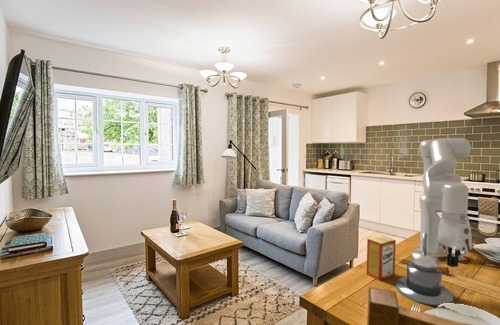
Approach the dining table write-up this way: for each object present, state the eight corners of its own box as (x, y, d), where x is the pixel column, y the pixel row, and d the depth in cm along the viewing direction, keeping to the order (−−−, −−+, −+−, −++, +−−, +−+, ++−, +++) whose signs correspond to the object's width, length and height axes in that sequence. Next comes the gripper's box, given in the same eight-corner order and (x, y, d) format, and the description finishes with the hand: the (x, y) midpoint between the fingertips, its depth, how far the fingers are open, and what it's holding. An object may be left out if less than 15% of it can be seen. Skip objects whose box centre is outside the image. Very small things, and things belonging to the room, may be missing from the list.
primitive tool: (398, 263, 126) (399, 256, 126) (402, 260, 130) (402, 253, 130) (448, 277, 113) (448, 269, 113) (450, 273, 117) (450, 265, 117)
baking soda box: (379, 280, 109) (380, 242, 108) (366, 274, 114) (367, 238, 114) (394, 275, 113) (395, 239, 112) (380, 269, 119) (381, 234, 118)
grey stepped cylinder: (426, 279, 110) (427, 257, 109) (466, 304, 92) (467, 278, 91) (386, 281, 108) (386, 259, 107) (418, 308, 90) (419, 280, 89)
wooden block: (423, 272, 95) (424, 237, 94) (406, 263, 102) (407, 230, 102) (464, 269, 98) (465, 234, 97) (444, 260, 106) (446, 228, 105)
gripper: (483, 221, 91) (481, 274, 91) (444, 212, 105) (443, 257, 106) (465, 222, 89) (463, 275, 90) (428, 212, 104) (427, 258, 104)
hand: (452, 265), depth 98 cm, fingers closed
